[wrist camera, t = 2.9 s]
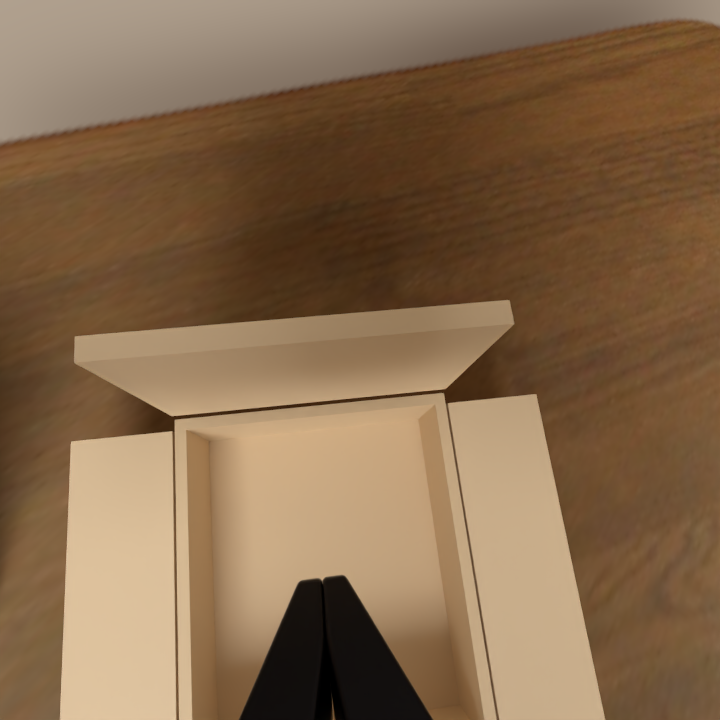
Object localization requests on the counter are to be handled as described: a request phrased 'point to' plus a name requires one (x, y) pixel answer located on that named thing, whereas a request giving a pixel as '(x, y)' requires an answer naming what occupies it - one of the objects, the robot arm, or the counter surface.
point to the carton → (324, 557)
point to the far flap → (296, 357)
